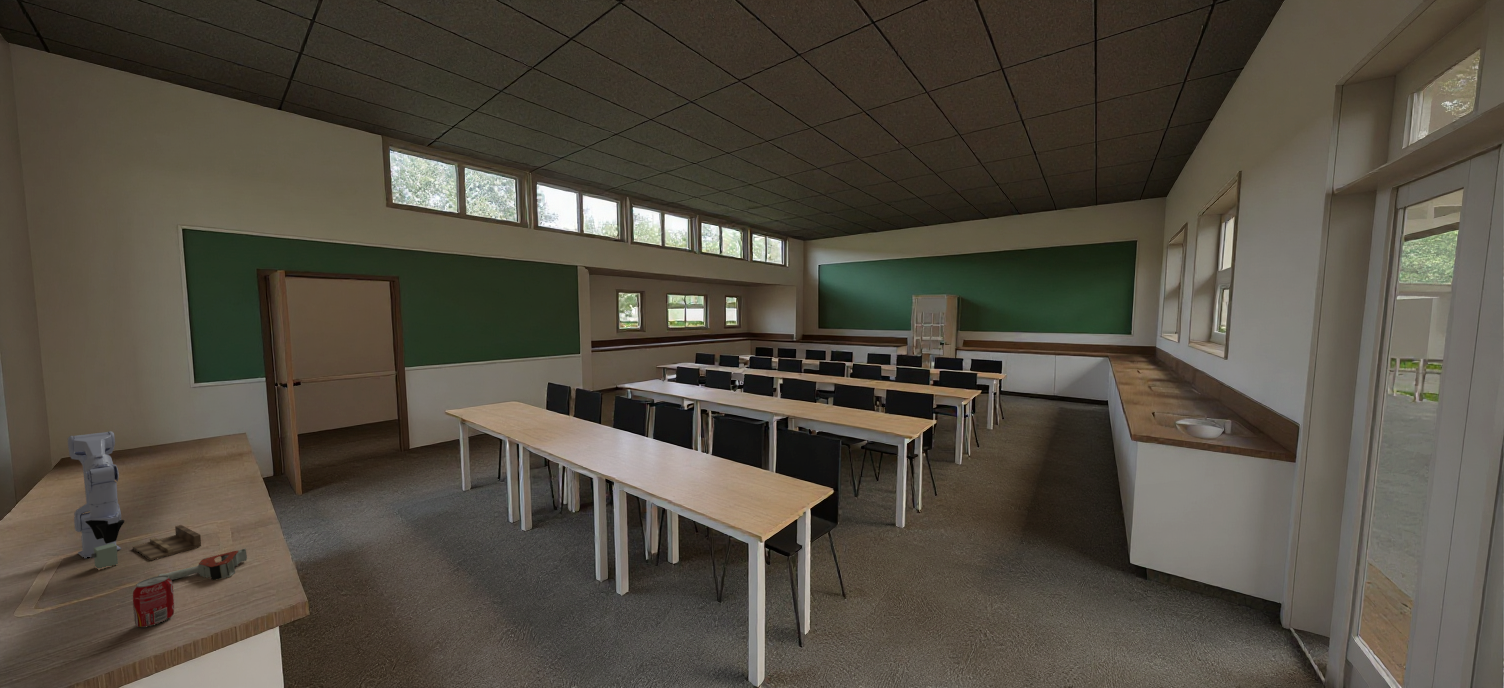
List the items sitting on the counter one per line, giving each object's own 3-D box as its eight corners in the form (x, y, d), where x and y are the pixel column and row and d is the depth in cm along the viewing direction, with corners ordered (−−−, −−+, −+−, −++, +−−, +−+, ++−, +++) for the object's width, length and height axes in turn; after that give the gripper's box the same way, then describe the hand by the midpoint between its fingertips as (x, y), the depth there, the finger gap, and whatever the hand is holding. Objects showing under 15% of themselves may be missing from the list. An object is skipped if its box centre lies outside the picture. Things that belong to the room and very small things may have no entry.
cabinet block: (91, 568, 162) (89, 548, 161) (114, 562, 166) (112, 543, 166) (94, 571, 160) (93, 551, 159) (118, 565, 164) (116, 545, 164)
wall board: (132, 549, 176) (131, 537, 175) (181, 535, 186) (181, 524, 186) (150, 560, 167) (150, 548, 167) (201, 546, 178) (200, 534, 177)
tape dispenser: (152, 589, 153) (197, 592, 148) (149, 573, 152) (194, 576, 148) (222, 559, 170) (264, 561, 166) (220, 545, 169) (262, 547, 165)
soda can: (156, 614, 136) (153, 574, 136) (182, 613, 137) (180, 573, 136) (125, 630, 129) (123, 588, 129) (154, 629, 130) (151, 587, 129)
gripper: (75, 502, 161) (78, 541, 162) (92, 509, 156) (95, 549, 156) (109, 495, 168) (111, 532, 168) (126, 501, 162) (129, 540, 163)
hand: (106, 540), depth 163 cm, fingers open, 7 cm apart
